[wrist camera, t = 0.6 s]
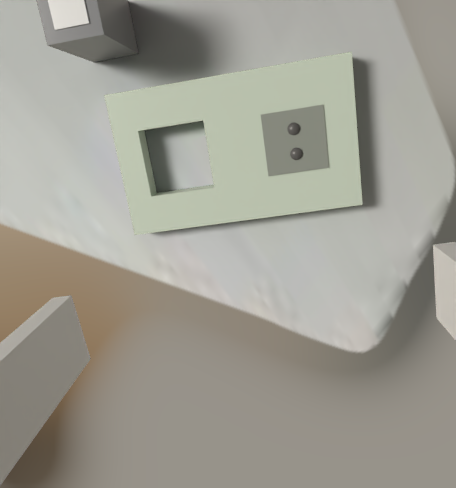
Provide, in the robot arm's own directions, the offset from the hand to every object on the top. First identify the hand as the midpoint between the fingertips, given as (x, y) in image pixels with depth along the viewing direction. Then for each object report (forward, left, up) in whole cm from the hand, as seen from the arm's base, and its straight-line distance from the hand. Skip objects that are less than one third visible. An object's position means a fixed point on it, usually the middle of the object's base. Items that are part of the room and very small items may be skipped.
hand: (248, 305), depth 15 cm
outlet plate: (-4, -1, -24) cm, 24 cm away
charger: (-15, -10, -24) cm, 30 cm away
